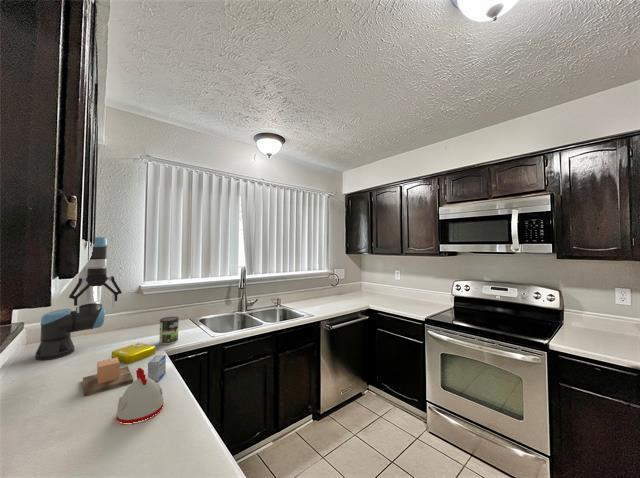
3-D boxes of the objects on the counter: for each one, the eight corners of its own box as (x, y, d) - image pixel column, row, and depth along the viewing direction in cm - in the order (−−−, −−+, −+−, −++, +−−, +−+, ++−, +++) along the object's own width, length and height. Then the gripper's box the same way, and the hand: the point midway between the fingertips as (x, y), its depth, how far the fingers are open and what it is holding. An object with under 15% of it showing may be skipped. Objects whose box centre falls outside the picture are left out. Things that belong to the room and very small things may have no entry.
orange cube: (98, 384, 111) (98, 366, 112) (97, 377, 117) (97, 361, 117) (119, 378, 116) (119, 361, 116) (117, 372, 121) (117, 356, 122)
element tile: (109, 360, 139) (109, 350, 139) (138, 349, 153) (138, 341, 153) (128, 365, 133) (128, 355, 133) (156, 354, 147) (156, 345, 147)
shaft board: (84, 396, 105) (84, 379, 105) (82, 381, 117) (83, 366, 117) (133, 382, 116) (133, 367, 116) (127, 369, 128) (127, 355, 128)
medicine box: (158, 381, 117) (158, 361, 117) (147, 382, 116) (147, 362, 116) (165, 373, 124) (166, 354, 125) (155, 374, 124) (155, 355, 124)
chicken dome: (155, 396, 105) (155, 358, 106) (169, 410, 97) (170, 368, 97) (111, 413, 95) (112, 370, 95) (123, 430, 86) (124, 383, 86)
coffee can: (182, 339, 168) (182, 317, 168) (168, 345, 158) (168, 321, 159) (169, 337, 171) (170, 315, 172) (155, 343, 162) (155, 319, 162)
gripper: (62, 269, 124) (61, 315, 123) (128, 266, 141) (127, 307, 140) (63, 268, 129) (62, 312, 129) (126, 266, 146) (125, 305, 146)
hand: (96, 310), depth 134 cm, fingers open, 13 cm apart
